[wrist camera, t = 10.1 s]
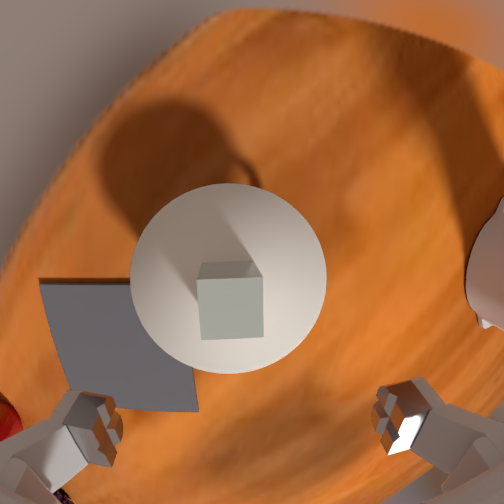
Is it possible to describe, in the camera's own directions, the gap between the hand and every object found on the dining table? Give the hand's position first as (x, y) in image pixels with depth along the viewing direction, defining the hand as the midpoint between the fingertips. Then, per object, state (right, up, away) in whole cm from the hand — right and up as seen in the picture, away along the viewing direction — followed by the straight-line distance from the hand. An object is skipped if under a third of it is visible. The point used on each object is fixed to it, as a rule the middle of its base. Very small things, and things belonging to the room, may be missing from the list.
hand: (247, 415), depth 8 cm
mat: (-14, -6, +21) cm, 26 cm away
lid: (-1, +3, +11) cm, 11 cm away
